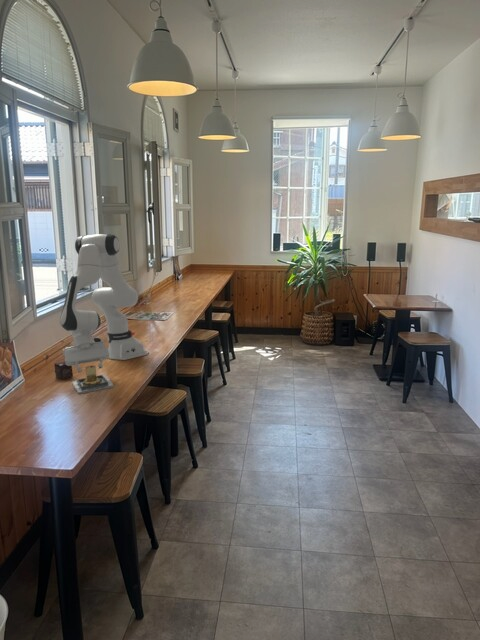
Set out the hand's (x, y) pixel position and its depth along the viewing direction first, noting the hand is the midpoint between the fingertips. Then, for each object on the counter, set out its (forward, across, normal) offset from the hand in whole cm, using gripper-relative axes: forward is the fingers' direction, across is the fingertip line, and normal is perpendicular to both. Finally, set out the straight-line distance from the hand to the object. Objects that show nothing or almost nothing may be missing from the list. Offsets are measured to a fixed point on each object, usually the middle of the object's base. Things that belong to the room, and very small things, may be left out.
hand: (90, 369), depth 227 cm
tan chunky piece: (+6, 0, +3) cm, 6 cm away
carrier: (+6, 0, +4) cm, 7 cm away
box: (-8, -10, +18) cm, 22 cm away
